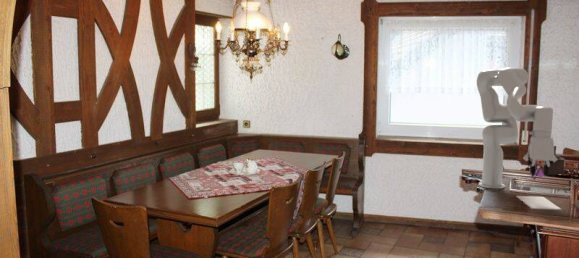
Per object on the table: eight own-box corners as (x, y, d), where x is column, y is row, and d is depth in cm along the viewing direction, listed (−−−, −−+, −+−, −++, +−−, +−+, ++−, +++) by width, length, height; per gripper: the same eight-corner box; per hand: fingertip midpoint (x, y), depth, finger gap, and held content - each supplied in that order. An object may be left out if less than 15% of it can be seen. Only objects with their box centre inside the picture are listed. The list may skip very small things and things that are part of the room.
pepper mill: (563, 173, 311) (565, 142, 309) (563, 176, 301) (565, 145, 299) (534, 170, 318) (536, 141, 316) (533, 173, 308) (535, 143, 306)
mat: (516, 196, 250) (516, 195, 250) (543, 197, 249) (543, 196, 249) (531, 208, 229) (531, 207, 229) (561, 210, 227) (561, 208, 227)
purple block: (535, 161, 243) (538, 165, 234) (547, 166, 242) (550, 169, 233) (529, 175, 244) (532, 179, 236) (540, 179, 243) (544, 183, 234)
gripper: (524, 134, 233) (521, 175, 235) (565, 136, 231) (562, 177, 233) (519, 132, 240) (516, 172, 242) (558, 133, 238) (555, 173, 240)
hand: (539, 174), depth 237 cm, fingers closed on purple block, 4 cm apart
